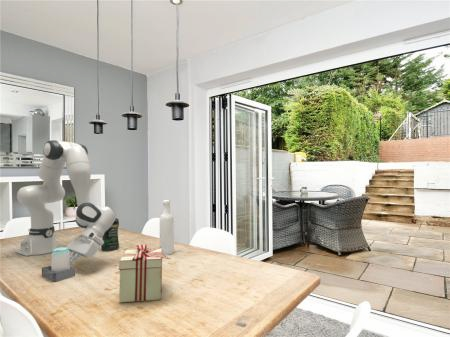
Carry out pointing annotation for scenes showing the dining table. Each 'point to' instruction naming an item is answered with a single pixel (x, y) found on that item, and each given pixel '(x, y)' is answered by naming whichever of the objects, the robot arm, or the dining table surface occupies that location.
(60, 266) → the can
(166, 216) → the bottle
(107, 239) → the coffee jar
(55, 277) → the grey u-shaped bracket
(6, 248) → the dining table surface
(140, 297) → the gift box
